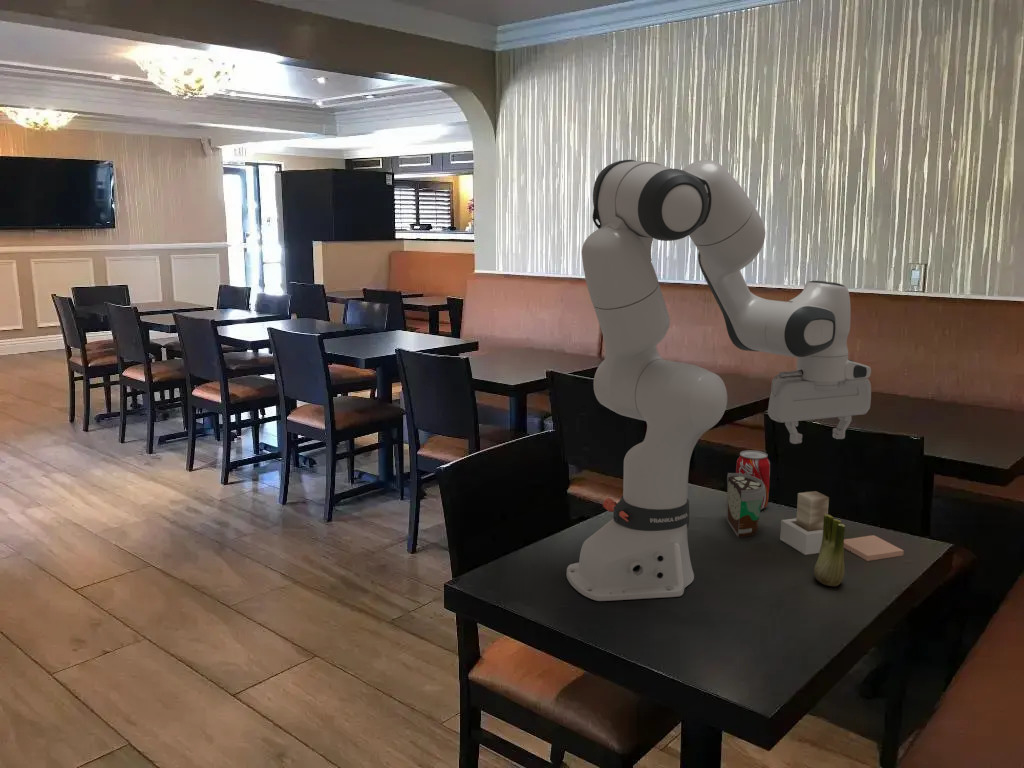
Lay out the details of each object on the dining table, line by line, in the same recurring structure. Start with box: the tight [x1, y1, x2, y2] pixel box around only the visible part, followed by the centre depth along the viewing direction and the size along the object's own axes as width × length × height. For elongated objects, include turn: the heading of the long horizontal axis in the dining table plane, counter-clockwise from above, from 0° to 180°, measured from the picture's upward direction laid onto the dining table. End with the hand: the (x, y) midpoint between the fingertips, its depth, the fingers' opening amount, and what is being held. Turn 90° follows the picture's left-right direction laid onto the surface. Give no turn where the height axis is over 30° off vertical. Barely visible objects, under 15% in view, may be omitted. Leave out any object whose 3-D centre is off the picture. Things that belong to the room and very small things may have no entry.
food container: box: [726, 472, 766, 538], centre depth 173 cm, size 12×6×10 cm, turn 179°
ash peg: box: [795, 490, 830, 532], centre depth 164 cm, size 4×4×10 cm
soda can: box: [735, 449, 771, 511], centre depth 185 cm, size 7×7×12 cm
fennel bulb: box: [813, 514, 846, 587], centre depth 147 cm, size 6×5×12 cm
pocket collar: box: [779, 517, 823, 556], centre depth 164 cm, size 8×8×4 cm
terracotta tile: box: [844, 534, 904, 562], centre depth 162 cm, size 8×8×1 cm
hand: (817, 440), depth 161 cm, fingers open, 8 cm apart
